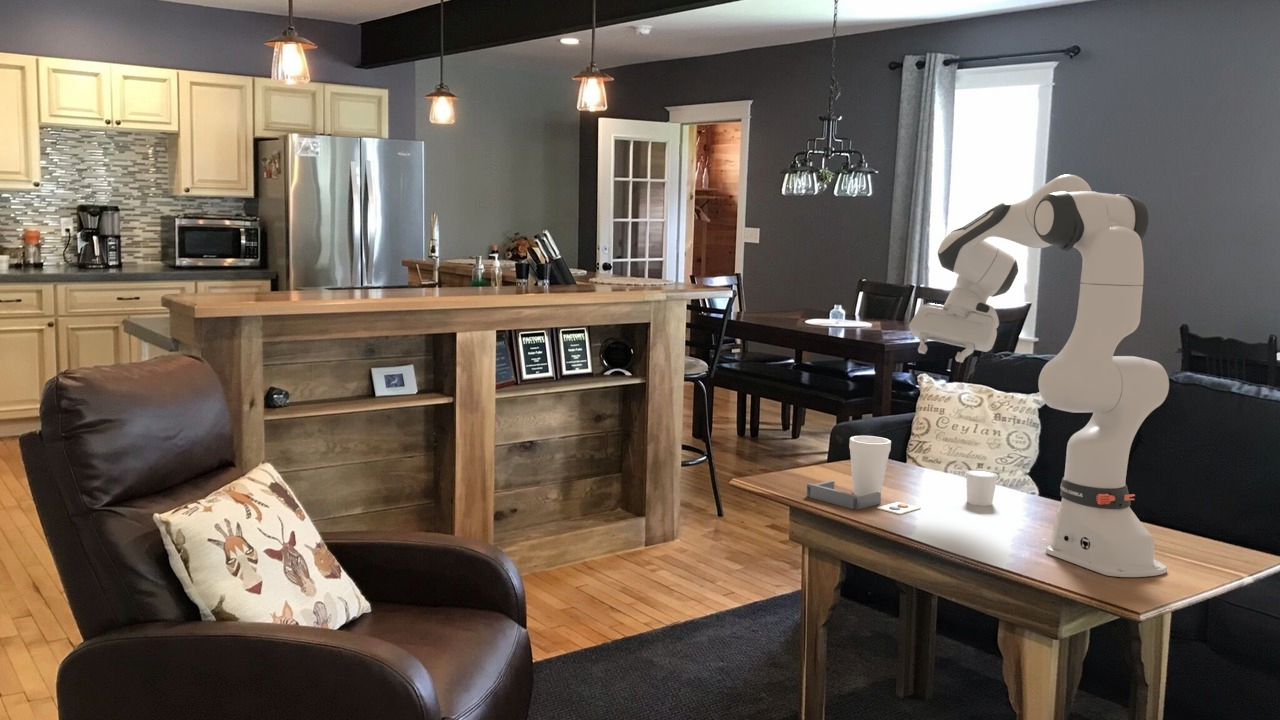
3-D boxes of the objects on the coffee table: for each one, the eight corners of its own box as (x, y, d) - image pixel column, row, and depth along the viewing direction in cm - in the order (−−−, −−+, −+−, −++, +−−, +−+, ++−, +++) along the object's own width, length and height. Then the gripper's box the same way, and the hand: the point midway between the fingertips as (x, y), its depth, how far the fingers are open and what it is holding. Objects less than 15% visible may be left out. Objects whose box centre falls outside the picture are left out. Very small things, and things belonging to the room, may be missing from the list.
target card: (897, 503, 242) (897, 500, 242) (920, 508, 237) (920, 506, 237) (877, 508, 236) (877, 506, 236) (900, 514, 232) (900, 512, 232)
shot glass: (991, 499, 248) (993, 470, 247) (998, 507, 241) (1000, 477, 240) (961, 497, 248) (963, 468, 248) (967, 505, 242) (969, 475, 241)
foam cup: (885, 490, 253) (888, 437, 251) (889, 500, 244) (893, 445, 242) (844, 488, 254) (848, 434, 252) (848, 497, 245) (851, 442, 243)
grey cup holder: (830, 490, 251) (831, 478, 250) (880, 503, 241) (881, 490, 240) (806, 496, 245) (807, 483, 244) (856, 510, 235) (857, 496, 234)
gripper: (919, 294, 258) (896, 339, 253) (1001, 309, 245) (977, 358, 241) (925, 309, 262) (902, 354, 258) (1005, 325, 250) (983, 373, 245)
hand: (939, 356), depth 249 cm, fingers open, 8 cm apart
